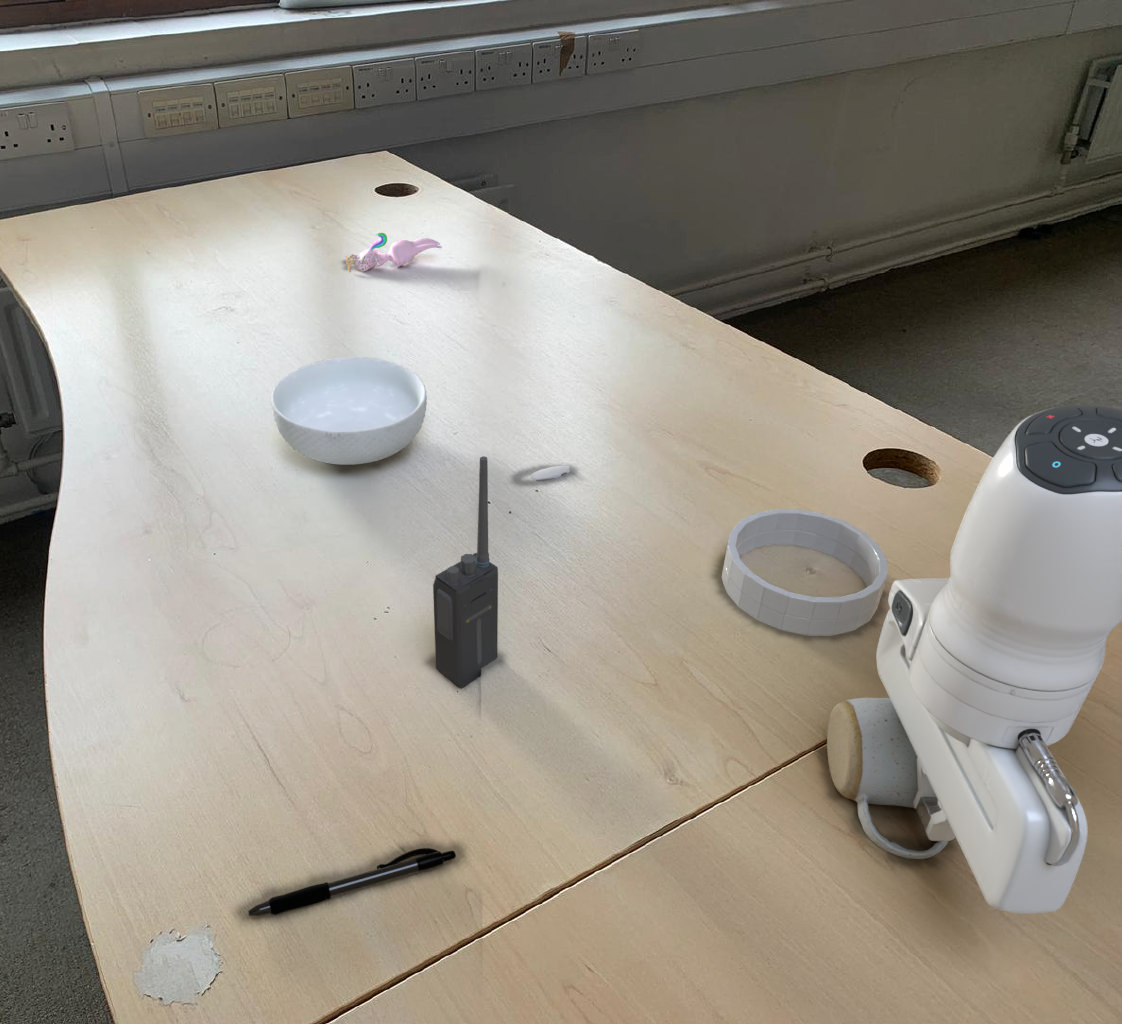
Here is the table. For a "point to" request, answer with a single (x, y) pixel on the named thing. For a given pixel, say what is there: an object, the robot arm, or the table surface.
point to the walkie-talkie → (468, 605)
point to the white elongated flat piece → (550, 473)
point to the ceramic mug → (874, 763)
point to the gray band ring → (796, 608)
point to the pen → (354, 881)
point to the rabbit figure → (390, 252)
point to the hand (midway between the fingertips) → (932, 823)
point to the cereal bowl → (349, 409)
